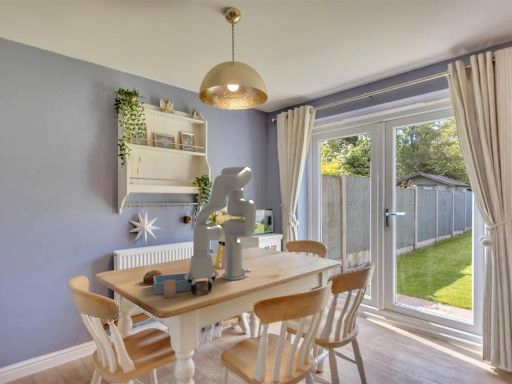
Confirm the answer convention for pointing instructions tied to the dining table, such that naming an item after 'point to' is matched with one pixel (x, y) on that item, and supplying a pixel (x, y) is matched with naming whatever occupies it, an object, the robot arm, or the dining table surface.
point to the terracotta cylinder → (169, 289)
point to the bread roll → (150, 276)
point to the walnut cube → (201, 288)
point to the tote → (180, 280)
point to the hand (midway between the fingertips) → (201, 291)
